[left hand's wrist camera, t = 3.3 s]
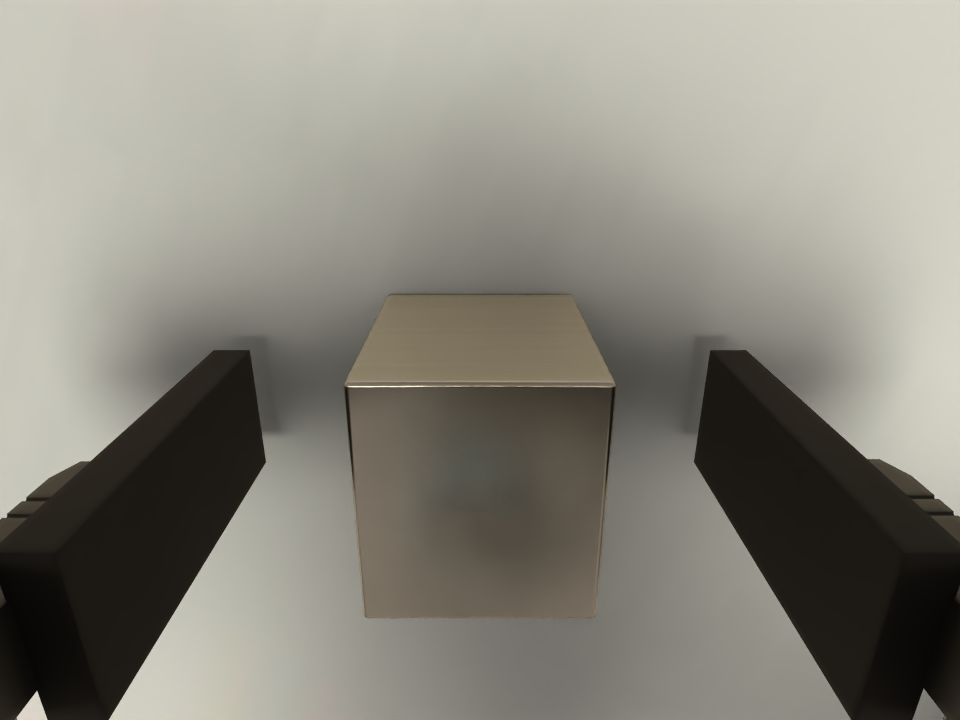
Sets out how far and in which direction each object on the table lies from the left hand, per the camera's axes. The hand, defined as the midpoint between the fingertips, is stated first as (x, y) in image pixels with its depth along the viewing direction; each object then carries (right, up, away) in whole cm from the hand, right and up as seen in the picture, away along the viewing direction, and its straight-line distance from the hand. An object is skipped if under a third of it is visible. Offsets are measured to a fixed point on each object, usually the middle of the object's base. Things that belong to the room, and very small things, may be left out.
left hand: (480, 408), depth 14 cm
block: (0, 0, +1) cm, 1 cm away
